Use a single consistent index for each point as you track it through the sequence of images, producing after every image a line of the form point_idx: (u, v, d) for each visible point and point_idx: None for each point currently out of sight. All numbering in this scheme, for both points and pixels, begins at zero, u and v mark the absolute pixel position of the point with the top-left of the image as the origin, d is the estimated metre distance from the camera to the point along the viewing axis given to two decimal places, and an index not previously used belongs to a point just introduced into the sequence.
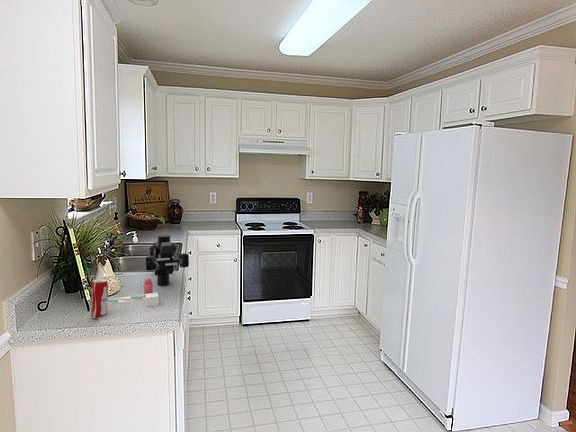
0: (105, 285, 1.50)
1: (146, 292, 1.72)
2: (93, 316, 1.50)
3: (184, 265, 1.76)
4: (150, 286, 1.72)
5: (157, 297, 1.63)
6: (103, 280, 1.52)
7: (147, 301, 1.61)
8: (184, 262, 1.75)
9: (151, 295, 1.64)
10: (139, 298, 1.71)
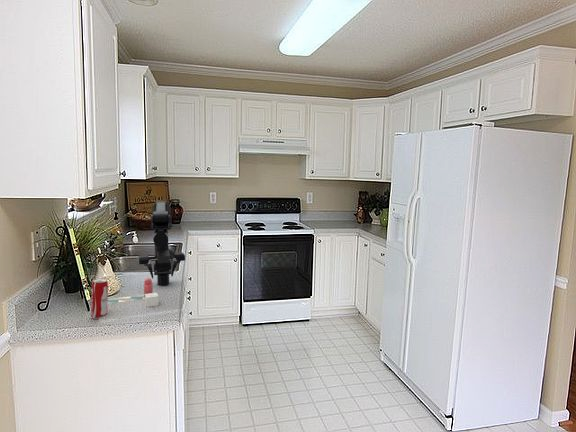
0: (105, 285, 1.50)
1: (146, 292, 1.72)
2: (93, 316, 1.50)
3: None
4: (150, 286, 1.72)
5: (157, 297, 1.63)
6: (103, 280, 1.52)
7: (147, 301, 1.61)
8: None
9: (151, 295, 1.64)
10: (139, 298, 1.71)
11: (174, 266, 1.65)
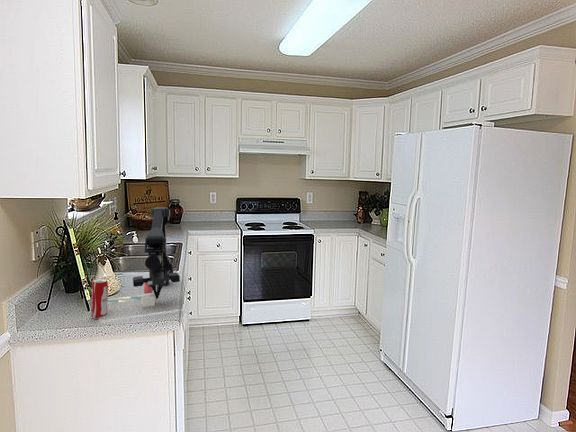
0: (105, 285, 1.50)
1: (146, 292, 1.72)
2: (93, 316, 1.50)
3: None
4: None
5: (153, 297, 1.62)
6: (103, 280, 1.52)
7: (143, 301, 1.61)
8: None
9: (147, 295, 1.63)
10: (139, 298, 1.71)
11: (160, 288, 1.64)
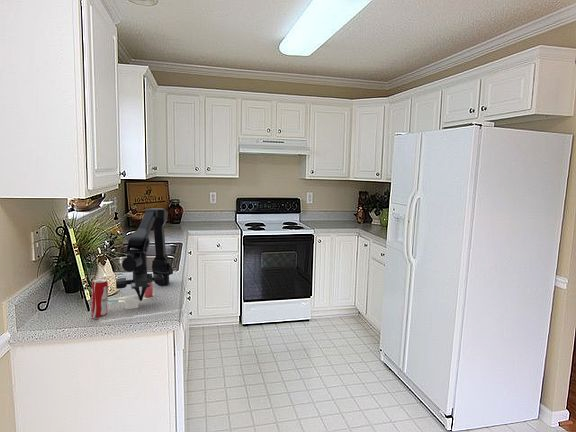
0: (105, 285, 1.50)
1: (146, 292, 1.72)
2: (93, 316, 1.50)
3: None
4: (150, 286, 1.72)
5: (136, 299, 1.59)
6: (103, 280, 1.52)
7: (126, 303, 1.58)
8: None
9: (130, 297, 1.60)
10: None
11: (143, 290, 1.61)
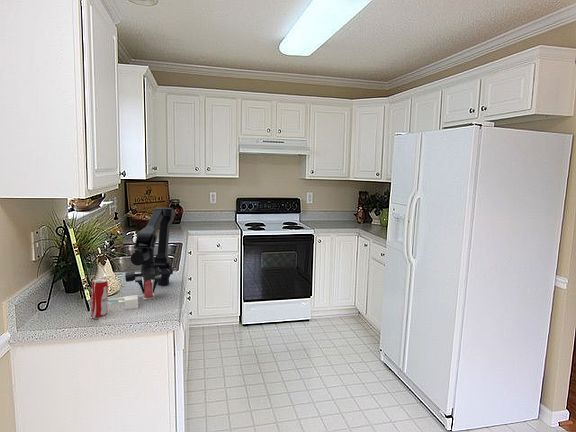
0: (105, 285, 1.50)
1: (145, 292, 1.71)
2: (93, 316, 1.50)
3: None
4: (149, 286, 1.71)
5: (136, 300, 1.59)
6: (103, 280, 1.52)
7: (126, 303, 1.58)
8: None
9: (130, 298, 1.60)
10: (139, 298, 1.71)
11: (155, 283, 1.73)
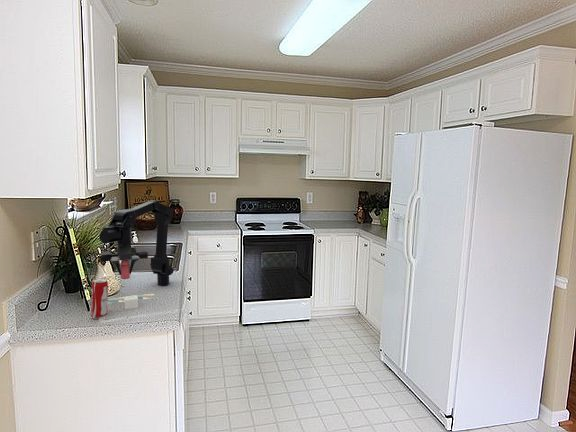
0: (105, 285, 1.50)
1: (122, 273, 1.66)
2: (93, 316, 1.50)
3: None
4: (126, 267, 1.66)
5: (136, 300, 1.59)
6: (103, 280, 1.52)
7: (126, 303, 1.58)
8: None
9: (130, 298, 1.60)
10: (139, 298, 1.71)
11: (132, 264, 1.67)
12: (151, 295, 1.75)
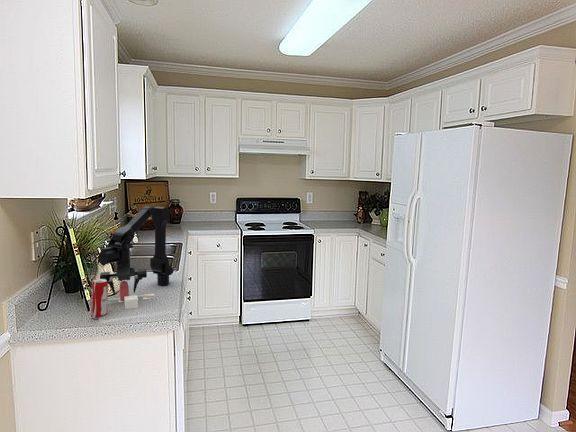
0: (105, 285, 1.50)
1: (121, 295, 1.67)
2: (93, 316, 1.50)
3: None
4: (125, 289, 1.67)
5: (136, 300, 1.59)
6: (103, 280, 1.52)
7: (126, 303, 1.58)
8: None
9: (130, 298, 1.60)
10: (139, 298, 1.71)
11: (136, 283, 1.69)
12: (151, 295, 1.75)
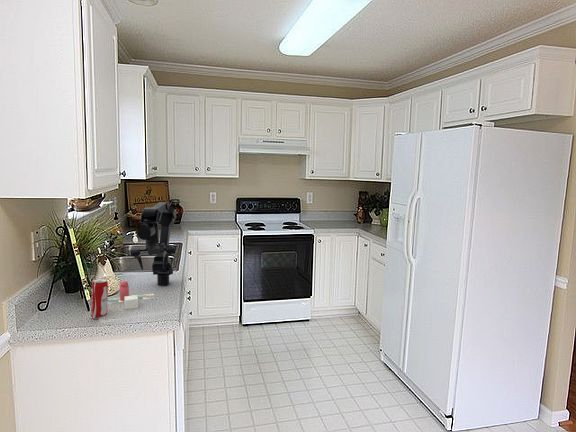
0: (105, 285, 1.50)
1: (121, 295, 1.67)
2: (93, 316, 1.50)
3: None
4: (125, 289, 1.67)
5: (136, 300, 1.60)
6: (103, 280, 1.52)
7: (126, 303, 1.58)
8: None
9: (130, 298, 1.60)
10: (139, 298, 1.71)
11: (166, 258, 1.75)
12: (151, 295, 1.75)
